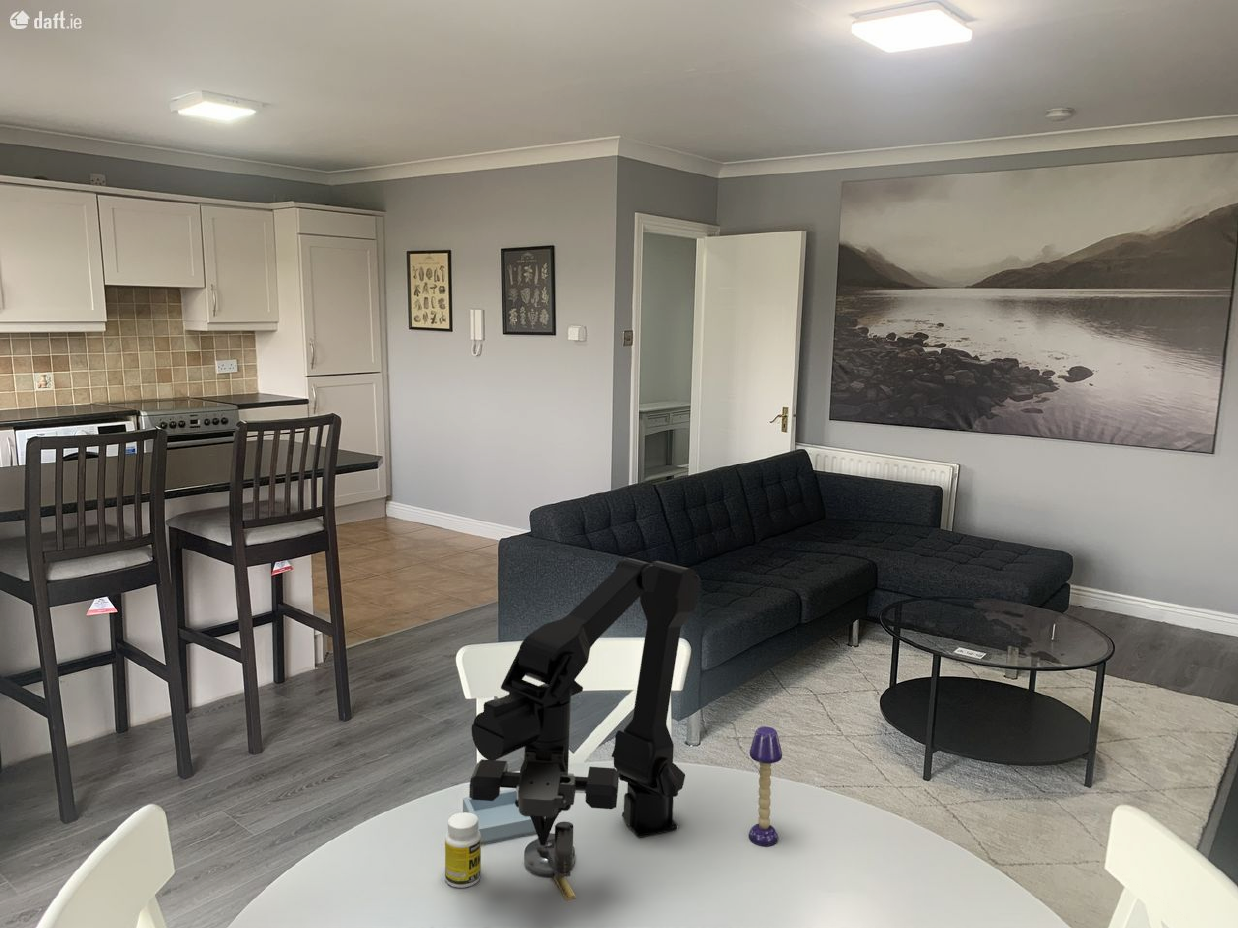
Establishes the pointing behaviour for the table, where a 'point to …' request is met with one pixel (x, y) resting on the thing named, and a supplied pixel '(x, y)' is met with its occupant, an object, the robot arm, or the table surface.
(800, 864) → the table surface
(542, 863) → the crank base
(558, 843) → the crank
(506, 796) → the tray
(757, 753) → the toy lamp
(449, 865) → the supplement bottle
